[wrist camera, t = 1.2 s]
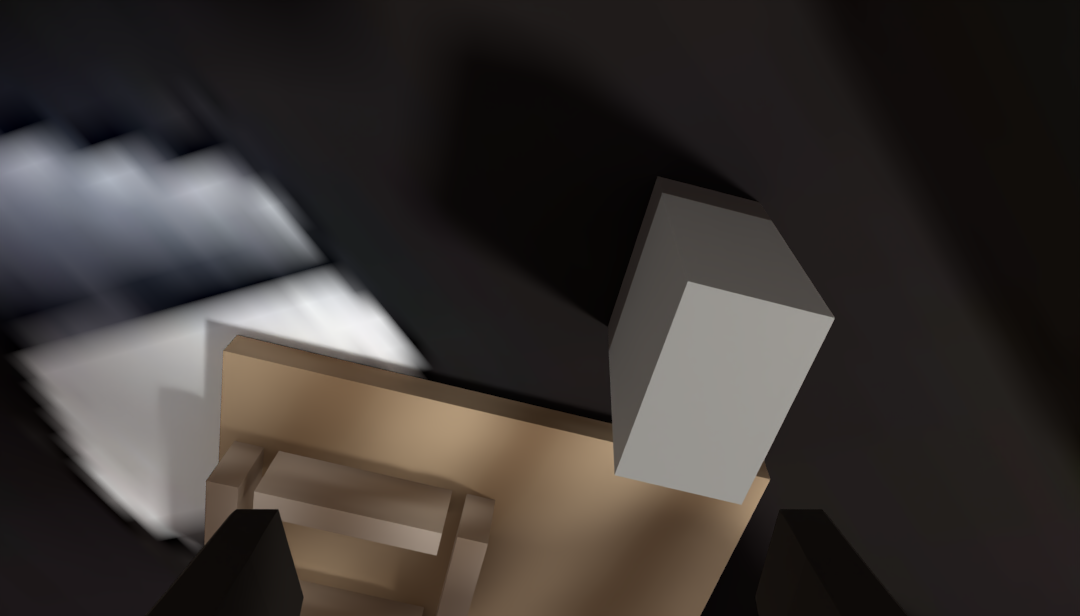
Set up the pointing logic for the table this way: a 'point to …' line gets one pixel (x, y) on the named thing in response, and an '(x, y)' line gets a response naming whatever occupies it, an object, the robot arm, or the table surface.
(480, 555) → the birch board
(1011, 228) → the table surface
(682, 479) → the peg
